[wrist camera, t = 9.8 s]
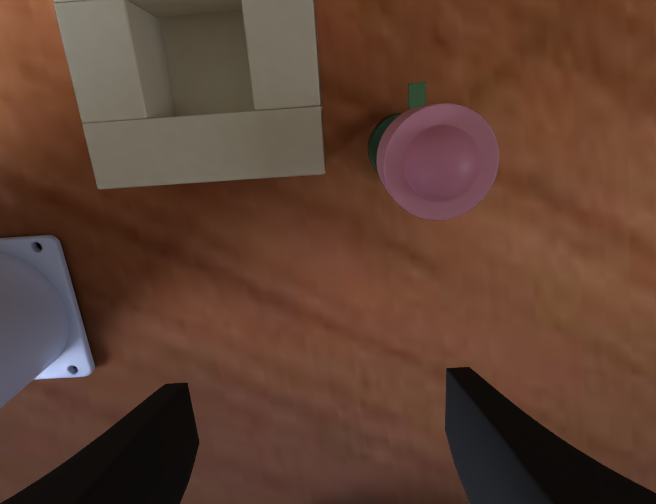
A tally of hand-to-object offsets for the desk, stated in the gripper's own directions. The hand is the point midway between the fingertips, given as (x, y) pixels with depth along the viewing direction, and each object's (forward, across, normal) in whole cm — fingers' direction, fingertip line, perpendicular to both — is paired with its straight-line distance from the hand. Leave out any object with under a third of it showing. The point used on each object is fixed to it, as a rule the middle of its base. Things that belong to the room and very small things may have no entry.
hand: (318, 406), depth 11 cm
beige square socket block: (+10, +4, -10) cm, 15 cm away
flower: (+10, -4, -6) cm, 13 cm away
